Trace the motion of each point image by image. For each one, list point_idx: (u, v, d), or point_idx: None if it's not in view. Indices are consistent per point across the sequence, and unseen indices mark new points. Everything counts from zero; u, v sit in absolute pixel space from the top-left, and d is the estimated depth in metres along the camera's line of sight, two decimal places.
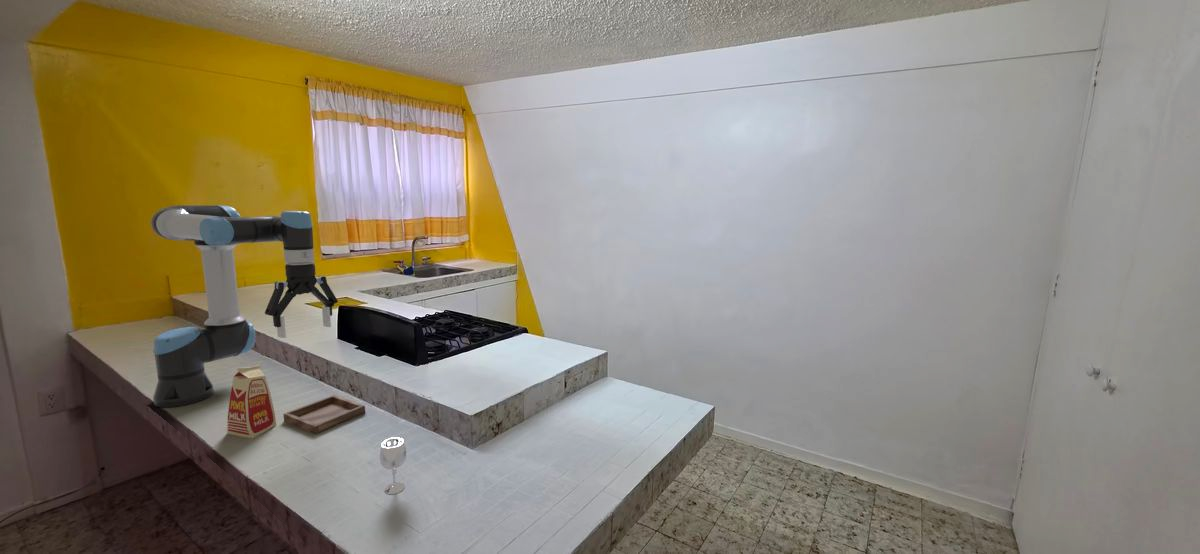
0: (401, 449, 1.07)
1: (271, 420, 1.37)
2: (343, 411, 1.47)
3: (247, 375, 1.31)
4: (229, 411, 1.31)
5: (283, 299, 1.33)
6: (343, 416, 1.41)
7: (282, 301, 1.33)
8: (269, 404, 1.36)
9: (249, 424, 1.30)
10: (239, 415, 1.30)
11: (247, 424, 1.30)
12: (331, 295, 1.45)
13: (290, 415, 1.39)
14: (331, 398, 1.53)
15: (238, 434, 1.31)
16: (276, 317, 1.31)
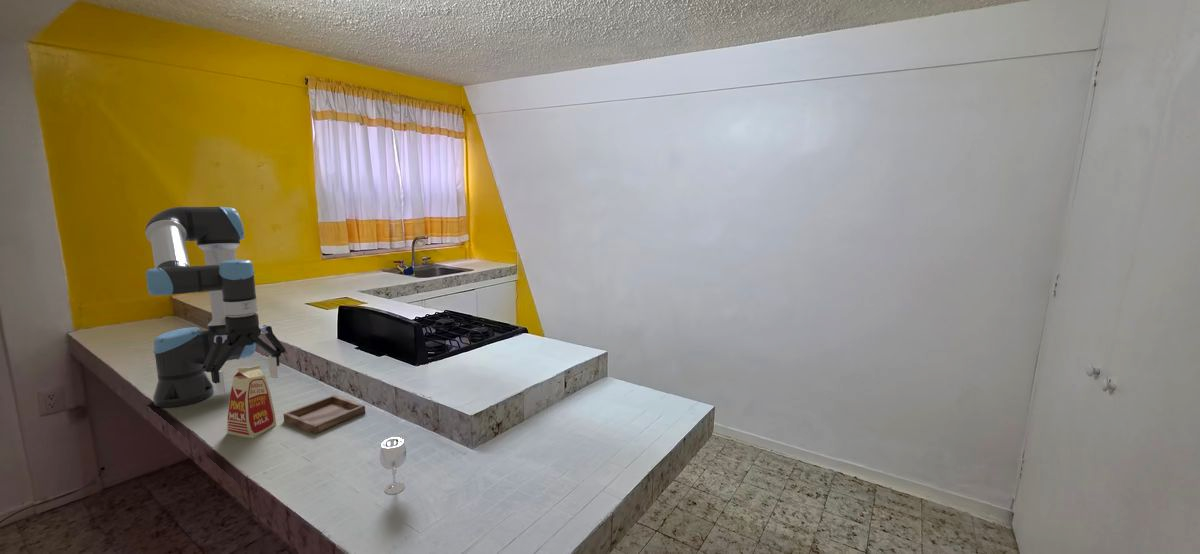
0: (401, 449, 1.07)
1: (271, 420, 1.37)
2: (343, 411, 1.47)
3: (247, 375, 1.31)
4: (229, 411, 1.31)
5: (222, 353, 1.27)
6: (343, 416, 1.41)
7: (221, 355, 1.27)
8: (269, 404, 1.36)
9: (249, 424, 1.30)
10: (239, 415, 1.30)
11: (247, 424, 1.30)
12: (278, 345, 1.38)
13: (290, 415, 1.39)
14: (331, 398, 1.53)
15: (238, 434, 1.31)
16: (214, 373, 1.25)
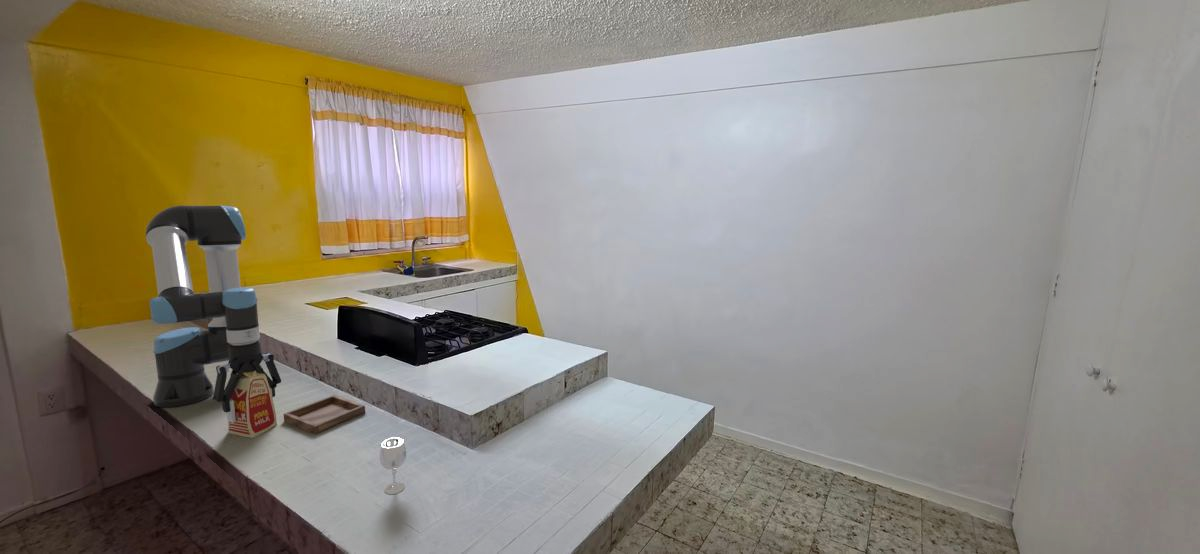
0: (401, 449, 1.07)
1: (272, 420, 1.37)
2: (343, 411, 1.47)
3: (248, 375, 1.31)
4: None
5: (229, 382, 1.29)
6: (343, 416, 1.41)
7: (229, 385, 1.29)
8: (270, 404, 1.36)
9: (249, 424, 1.30)
10: (239, 414, 1.31)
11: (248, 424, 1.30)
12: (275, 374, 1.39)
13: (290, 415, 1.39)
14: (331, 398, 1.53)
15: (239, 434, 1.32)
16: (225, 402, 1.28)
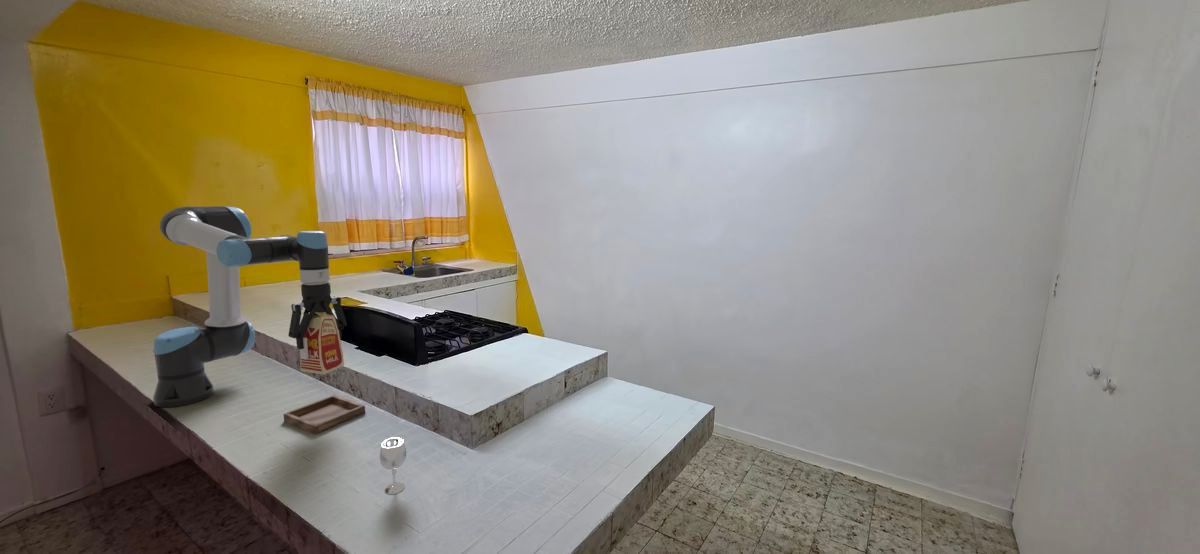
0: (401, 449, 1.07)
1: (340, 360, 1.42)
2: (343, 411, 1.47)
3: (319, 314, 1.37)
4: None
5: (303, 321, 1.35)
6: (343, 416, 1.41)
7: (302, 323, 1.35)
8: (338, 344, 1.42)
9: (321, 361, 1.36)
10: (312, 352, 1.36)
11: (320, 361, 1.36)
12: (342, 317, 1.44)
13: (290, 415, 1.39)
14: (331, 398, 1.53)
15: (311, 371, 1.37)
16: (299, 339, 1.34)
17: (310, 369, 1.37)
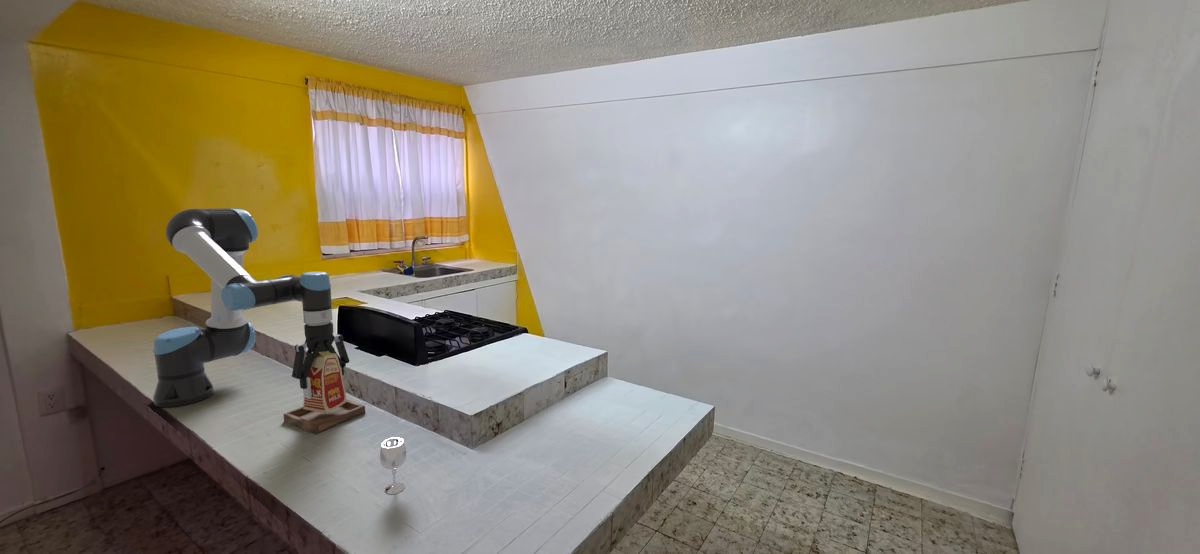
0: (401, 449, 1.07)
1: (342, 397, 1.45)
2: (343, 411, 1.47)
3: (322, 354, 1.39)
4: None
5: (306, 361, 1.37)
6: (343, 416, 1.41)
7: (305, 363, 1.37)
8: (341, 382, 1.44)
9: (324, 400, 1.38)
10: (315, 391, 1.38)
11: (323, 400, 1.38)
12: (344, 354, 1.46)
13: (290, 415, 1.39)
14: None
15: (314, 409, 1.39)
16: (303, 379, 1.36)
17: (313, 408, 1.39)
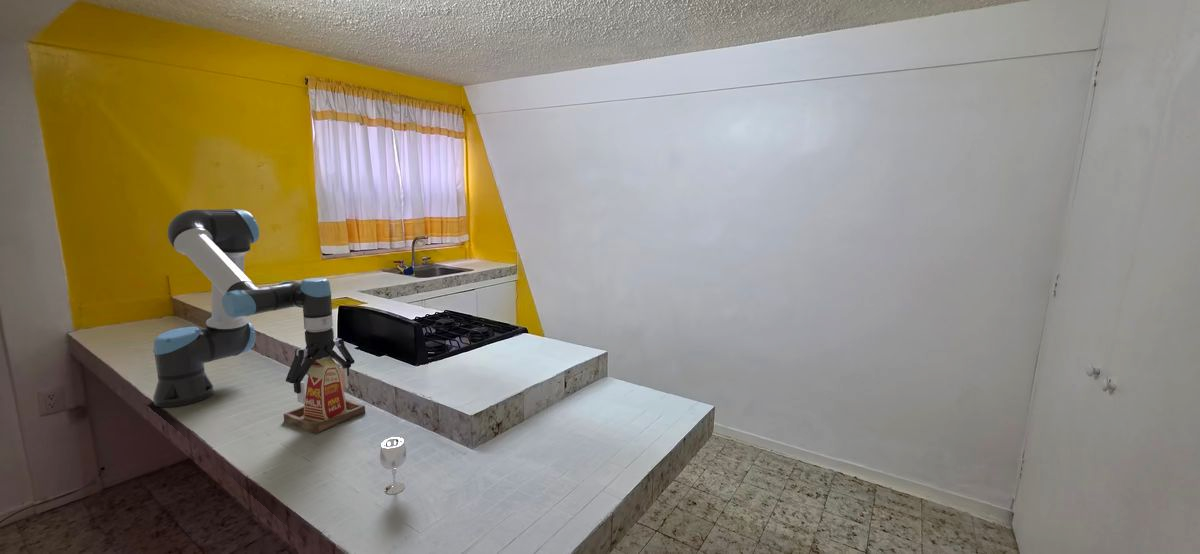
0: (401, 449, 1.07)
1: (342, 407, 1.45)
2: None
3: (323, 364, 1.39)
4: (306, 397, 1.40)
5: (303, 365, 1.36)
6: (343, 416, 1.41)
7: (302, 367, 1.36)
8: (341, 392, 1.45)
9: (324, 410, 1.39)
10: (315, 401, 1.39)
11: (323, 410, 1.38)
12: (348, 356, 1.48)
13: (290, 415, 1.39)
14: None
15: (314, 419, 1.40)
16: (296, 384, 1.34)
17: (313, 417, 1.40)
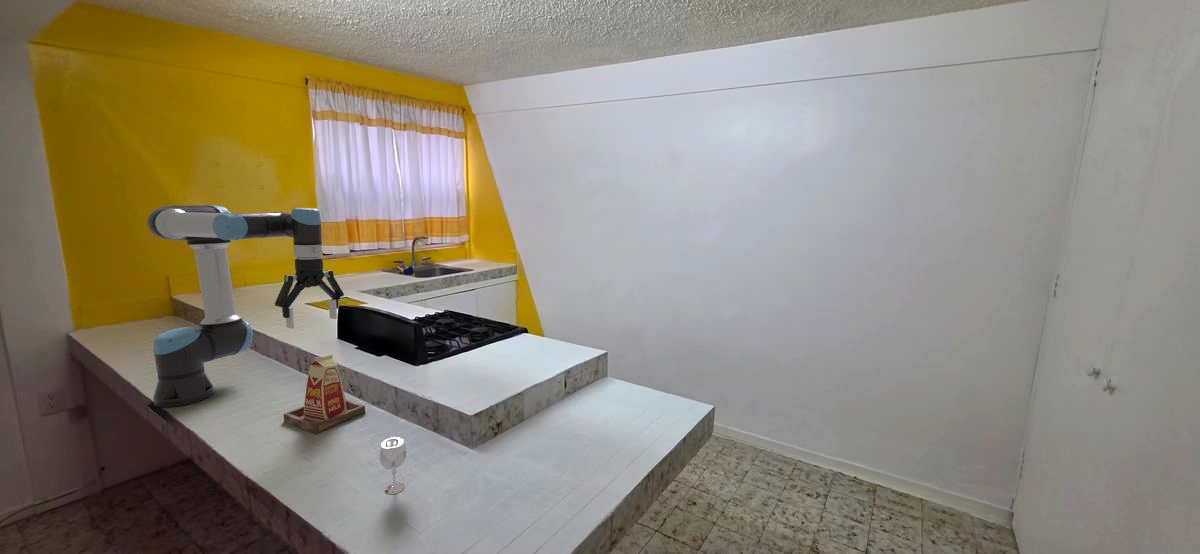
0: (401, 449, 1.07)
1: (342, 407, 1.45)
2: None
3: (323, 364, 1.39)
4: (306, 397, 1.40)
5: (292, 291, 1.40)
6: (343, 416, 1.41)
7: (291, 293, 1.40)
8: (341, 392, 1.45)
9: (324, 410, 1.39)
10: (315, 401, 1.39)
11: (323, 410, 1.38)
12: (337, 289, 1.52)
13: (290, 415, 1.39)
14: None
15: (314, 419, 1.40)
16: (285, 308, 1.38)
17: (313, 417, 1.40)
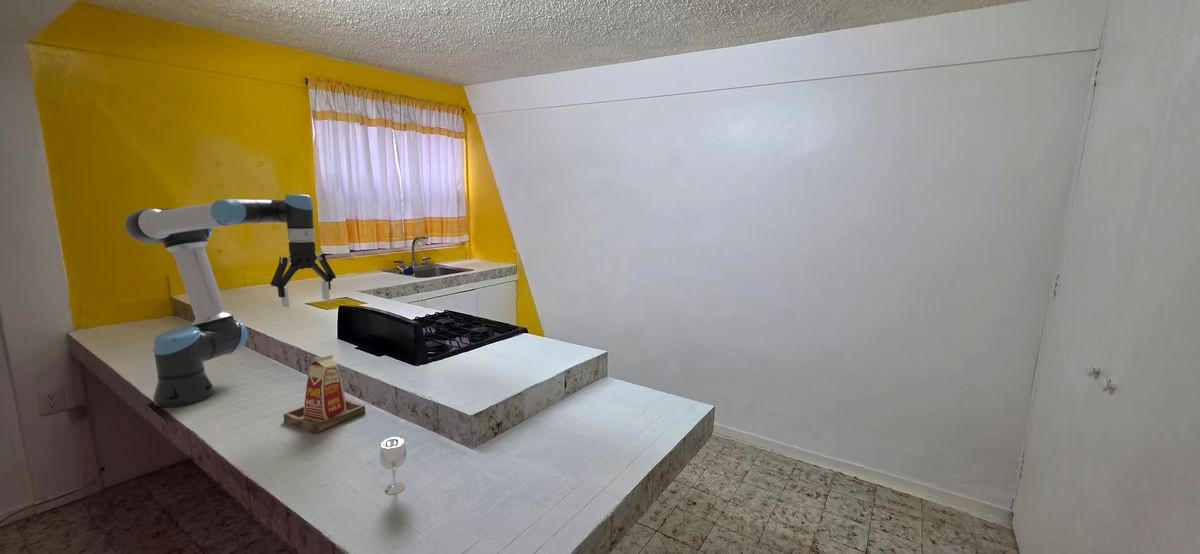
0: (401, 449, 1.07)
1: (342, 407, 1.45)
2: None
3: (323, 364, 1.39)
4: (306, 397, 1.40)
5: (287, 273, 1.50)
6: (343, 416, 1.41)
7: (286, 274, 1.49)
8: (341, 392, 1.45)
9: (324, 410, 1.39)
10: (315, 401, 1.39)
11: (323, 410, 1.38)
12: (330, 271, 1.61)
13: (290, 415, 1.39)
14: None
15: (314, 419, 1.40)
16: (280, 288, 1.47)
17: (313, 417, 1.40)
